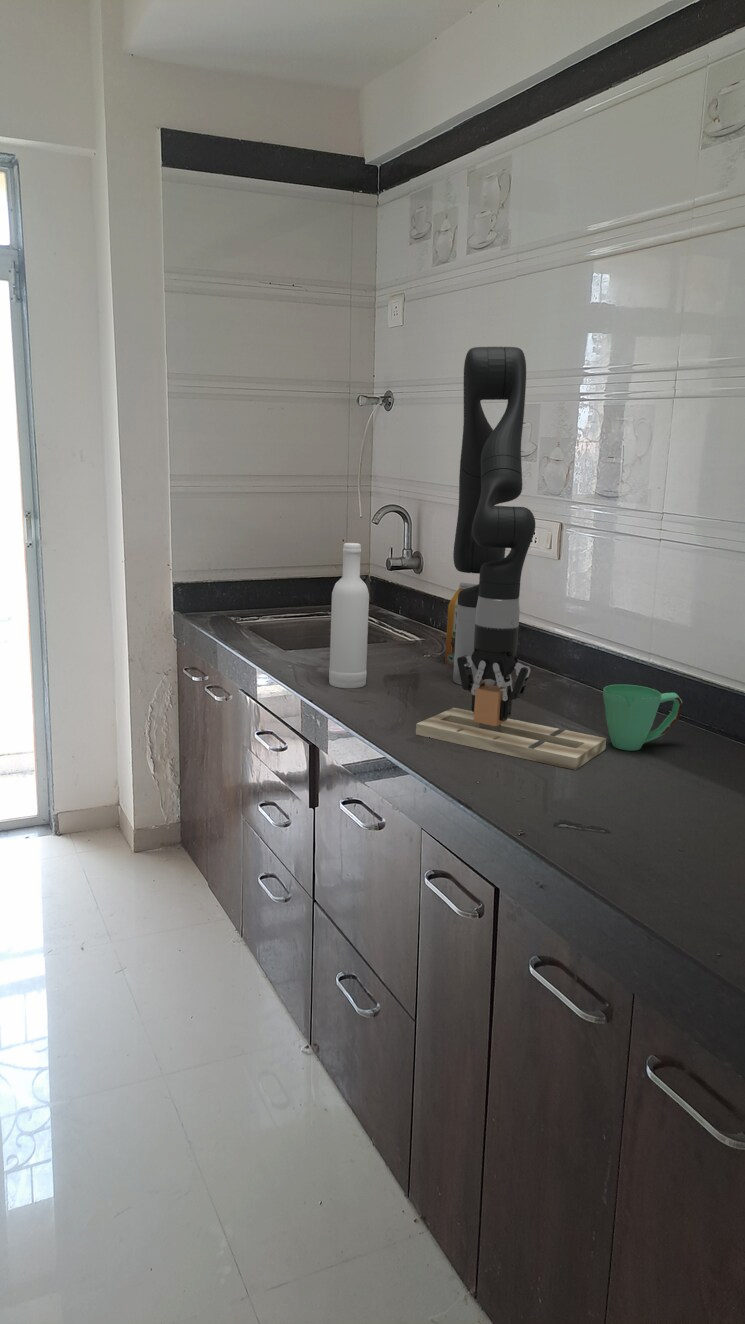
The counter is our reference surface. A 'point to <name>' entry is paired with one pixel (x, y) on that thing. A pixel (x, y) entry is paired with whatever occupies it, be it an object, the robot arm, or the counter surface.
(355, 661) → the bottle
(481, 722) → the fader knob
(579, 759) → the board
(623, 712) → the mug
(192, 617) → the counter surface
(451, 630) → the milk carton
